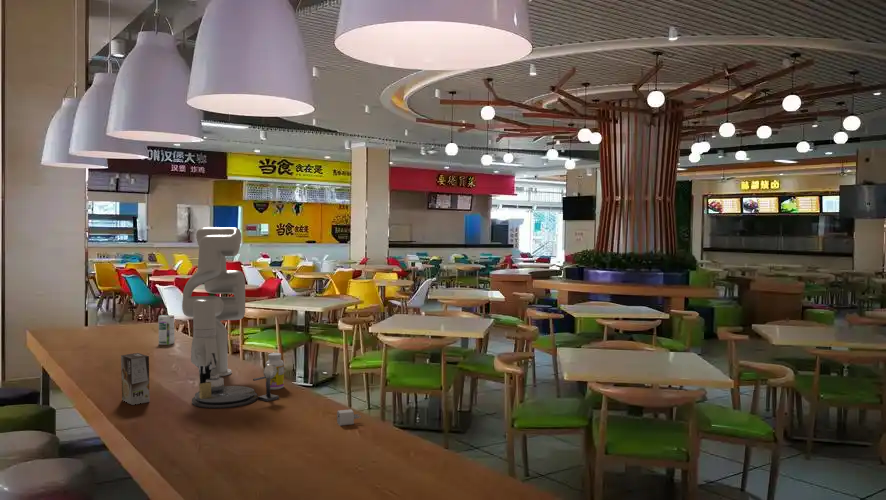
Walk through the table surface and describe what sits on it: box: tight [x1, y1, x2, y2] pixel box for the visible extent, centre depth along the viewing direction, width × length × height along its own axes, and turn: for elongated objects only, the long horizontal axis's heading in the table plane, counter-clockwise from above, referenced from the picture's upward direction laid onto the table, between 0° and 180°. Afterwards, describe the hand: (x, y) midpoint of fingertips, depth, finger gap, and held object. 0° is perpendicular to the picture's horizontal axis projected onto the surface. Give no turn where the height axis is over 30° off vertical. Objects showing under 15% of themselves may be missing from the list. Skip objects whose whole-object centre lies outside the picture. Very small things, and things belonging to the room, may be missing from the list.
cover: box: [206, 374, 225, 392], centre depth 244 cm, size 6×6×6 cm
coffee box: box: [120, 352, 151, 406], centre depth 238 cm, size 9×6×16 cm
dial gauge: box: [252, 364, 280, 403], centre depth 240 cm, size 5×9×12 cm, turn 143°
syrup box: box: [157, 314, 175, 346], centre depth 347 cm, size 6×6×14 cm
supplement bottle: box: [265, 352, 285, 391], centre depth 258 cm, size 7×7×13 cm
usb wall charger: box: [336, 409, 362, 427], centre depth 214 cm, size 4×7×4 cm, turn 112°
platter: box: [194, 382, 256, 404], centre depth 240 cm, size 20×20×6 cm
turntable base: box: [191, 392, 259, 409], centre depth 241 cm, size 22×22×1 cm
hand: (205, 383), depth 247 cm, fingers closed
